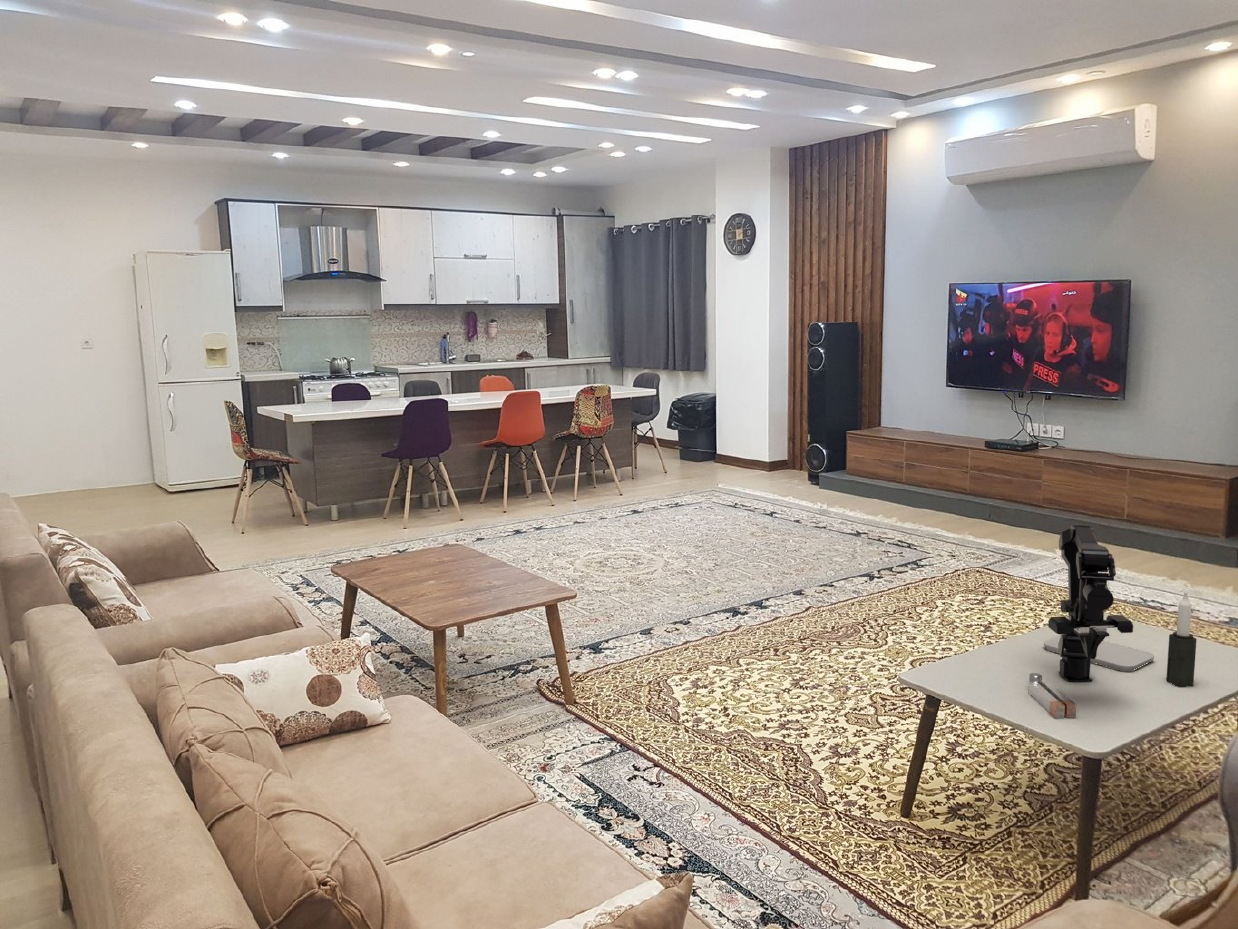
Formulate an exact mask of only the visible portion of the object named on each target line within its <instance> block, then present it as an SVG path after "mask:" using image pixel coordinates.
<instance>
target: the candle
mask: <svg viewBox="0 0 1238 929" xmlns="http://www.w3.org/2000/svg"><path fill="white" fill-rule="evenodd" d="M1188 596H1189V595H1188V591H1184V592H1183V596H1182V597H1181V600H1180V601H1179V602H1178V607H1177V622H1176V631H1174V632H1172V633H1170V634H1169V635H1168V649H1167V651H1168V652H1167V664H1166V665H1167V666H1166V682H1167V683H1170V684H1171V683H1172V684H1171V685H1173V684H1174V685H1175V686H1174V685H1173V686H1174V687H1176V686H1179V687H1178V688H1186V686H1191V687H1194V683H1195V680H1194V679H1195V667H1196V653H1197V652H1196V651H1197V641H1198V640H1197V638H1196V637H1194V634H1192V633H1191V621H1192V620H1191V618H1192V603H1191V602H1190V599H1189V597H1188Z"/></svg>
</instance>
